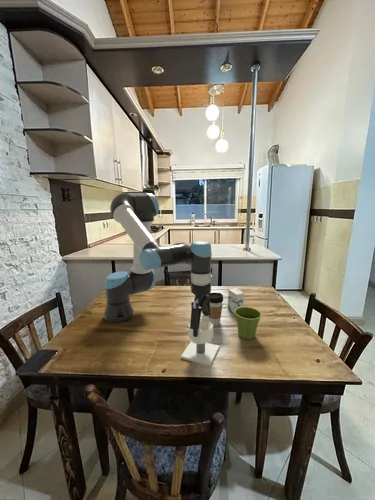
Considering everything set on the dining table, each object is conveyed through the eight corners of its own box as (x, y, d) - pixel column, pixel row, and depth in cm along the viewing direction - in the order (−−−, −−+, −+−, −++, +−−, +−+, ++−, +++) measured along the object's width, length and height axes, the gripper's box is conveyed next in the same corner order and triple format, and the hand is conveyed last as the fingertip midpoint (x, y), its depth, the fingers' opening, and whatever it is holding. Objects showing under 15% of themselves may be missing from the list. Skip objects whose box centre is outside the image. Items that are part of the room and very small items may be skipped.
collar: (185, 340, 89) (185, 328, 88) (194, 328, 97) (194, 317, 96) (208, 345, 86) (208, 333, 85) (215, 333, 94) (215, 322, 93)
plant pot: (256, 346, 97) (257, 321, 95) (229, 337, 103) (230, 314, 101) (263, 332, 107) (264, 310, 105) (238, 325, 113) (239, 304, 111)
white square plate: (181, 358, 90) (180, 339, 89) (192, 341, 101) (192, 324, 99) (210, 366, 86) (210, 347, 84) (219, 348, 96) (219, 330, 95)
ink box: (227, 308, 132) (227, 288, 129) (234, 306, 134) (235, 287, 131) (235, 314, 124) (236, 294, 122) (243, 313, 126) (244, 292, 124)
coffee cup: (222, 327, 112) (222, 298, 108) (204, 326, 113) (205, 297, 110) (223, 319, 120) (223, 292, 117) (206, 317, 121) (207, 290, 118)
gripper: (200, 294, 76) (200, 355, 80) (218, 275, 95) (217, 324, 100) (179, 291, 79) (180, 349, 83) (201, 273, 98) (201, 321, 103)
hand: (200, 336), depth 92 cm, fingers closed on collar, 9 cm apart
